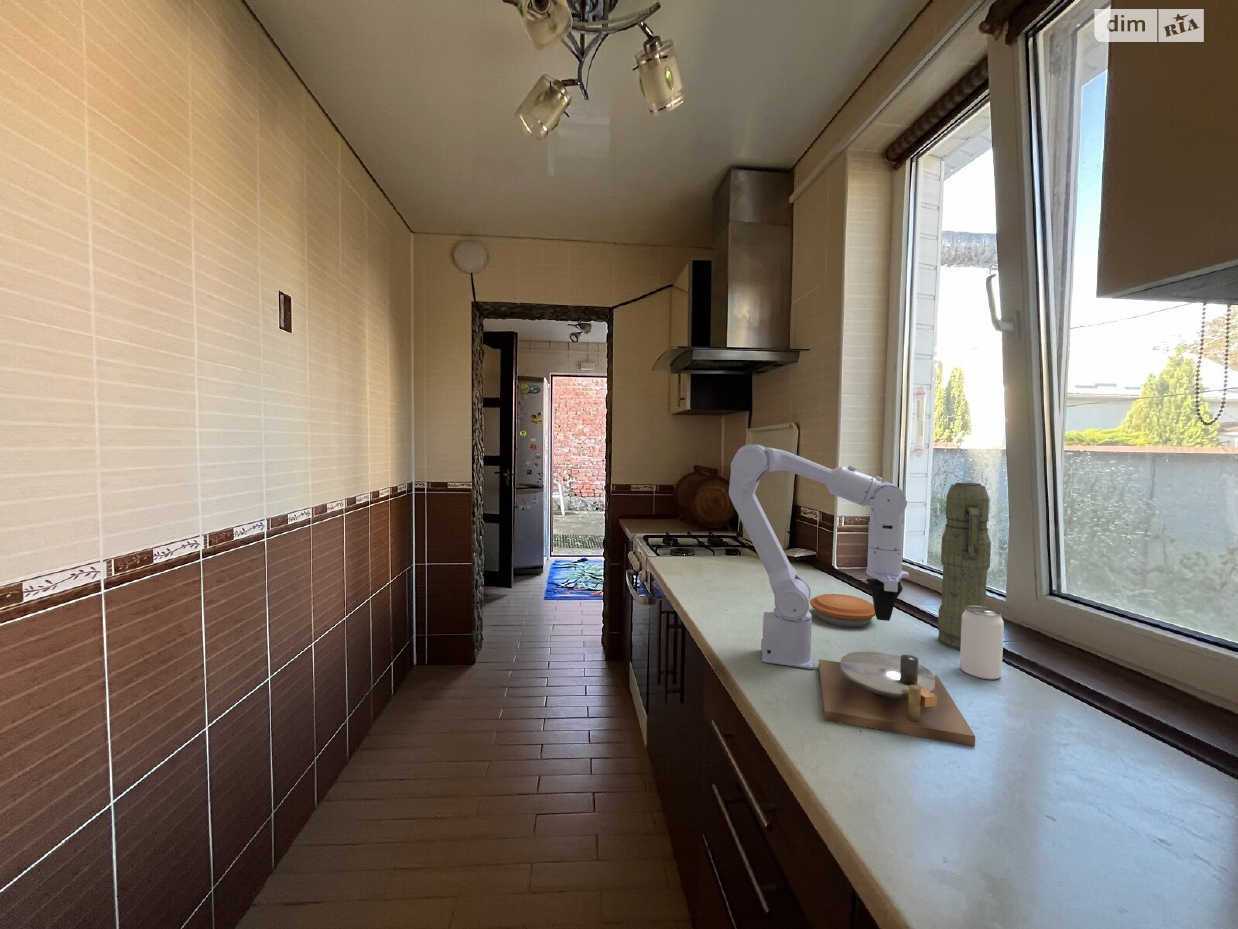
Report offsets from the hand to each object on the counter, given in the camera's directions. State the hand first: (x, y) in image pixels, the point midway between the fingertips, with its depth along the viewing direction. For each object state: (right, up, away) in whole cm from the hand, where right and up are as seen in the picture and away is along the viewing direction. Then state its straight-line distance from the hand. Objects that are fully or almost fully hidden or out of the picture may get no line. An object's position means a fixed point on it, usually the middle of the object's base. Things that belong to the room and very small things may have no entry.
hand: (882, 619), depth 95 cm
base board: (-5, -11, -10) cm, 15 cm away
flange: (-4, -7, -11) cm, 14 cm away
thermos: (+25, -10, +15) cm, 31 cm away
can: (+19, -11, +1) cm, 22 cm away
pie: (+6, -10, +30) cm, 32 cm away
